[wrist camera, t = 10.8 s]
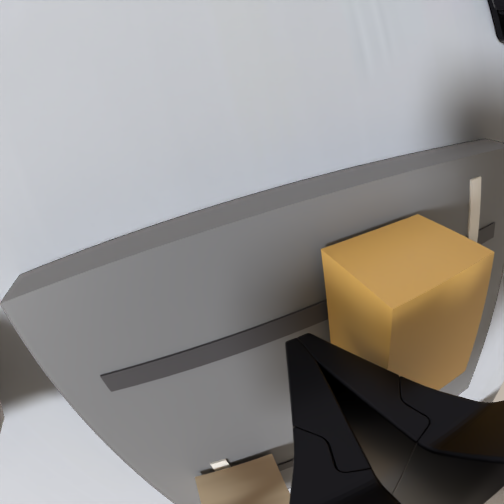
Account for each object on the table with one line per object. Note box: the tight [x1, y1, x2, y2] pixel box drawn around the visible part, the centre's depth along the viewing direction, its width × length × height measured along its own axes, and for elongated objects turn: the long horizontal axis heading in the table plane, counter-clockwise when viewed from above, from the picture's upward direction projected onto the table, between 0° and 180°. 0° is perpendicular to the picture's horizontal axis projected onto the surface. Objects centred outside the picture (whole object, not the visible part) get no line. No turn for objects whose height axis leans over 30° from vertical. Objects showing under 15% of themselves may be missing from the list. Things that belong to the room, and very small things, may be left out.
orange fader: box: [321, 214, 494, 390], centre depth 9 cm, size 4×5×4 cm
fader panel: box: [0, 139, 504, 504], centre depth 14 cm, size 22×18×2 cm
